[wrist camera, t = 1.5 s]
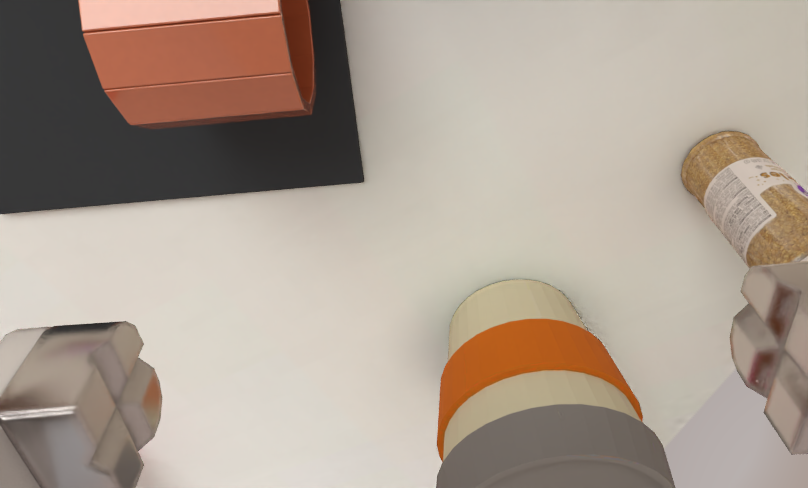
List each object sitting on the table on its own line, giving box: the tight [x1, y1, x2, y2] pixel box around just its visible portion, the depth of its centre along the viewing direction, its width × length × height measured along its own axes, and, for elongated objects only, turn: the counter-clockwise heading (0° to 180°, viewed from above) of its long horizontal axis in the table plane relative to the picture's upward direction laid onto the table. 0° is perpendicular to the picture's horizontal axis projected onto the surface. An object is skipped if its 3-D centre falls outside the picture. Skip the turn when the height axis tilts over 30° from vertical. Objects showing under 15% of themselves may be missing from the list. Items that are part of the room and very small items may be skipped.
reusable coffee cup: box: [436, 280, 675, 488], centre depth 39 cm, size 13×13×15 cm
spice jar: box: [681, 131, 808, 268], centre depth 33 cm, size 5×5×13 cm
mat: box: [0, 0, 364, 214], centre depth 32 cm, size 22×22×1 cm
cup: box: [78, 0, 316, 129], centre depth 28 cm, size 8×8×8 cm
